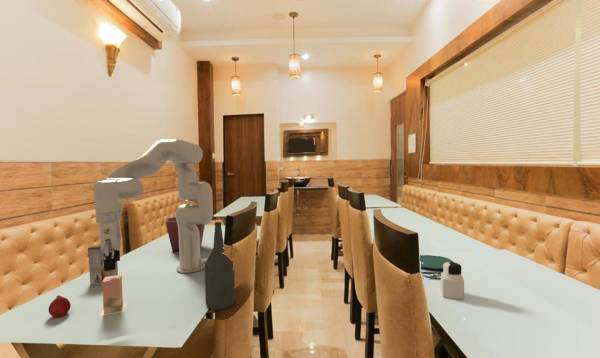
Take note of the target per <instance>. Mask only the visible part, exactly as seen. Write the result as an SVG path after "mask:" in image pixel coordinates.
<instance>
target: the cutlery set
mask: <svg viewBox="0 0 600 358" xmlns="http://www.w3.org/2000/svg"><path fill="white" fill-rule="evenodd" d="M419 255H420V261H421V268H420V269H422V268H423V269H427V270H434V271H429V272H430V273H429V274H433V275H434V276H433V277H430V279H429V280H433V279H435V280H441V273H443V272H442V271H443V264H444V263H446V262H454V261H453V260H452V259H450V258H448V257H446V256H441V255H431V254H430V255H429V254H427V255H426V254H424V255H423V254H419ZM422 262H423V264H422ZM436 271H438V272H436ZM420 273H421V274H422V271H420ZM435 273H439V274H435ZM424 277H427V275H425V276H424ZM422 279H424V278H422ZM424 280H425V279H424Z"/></svg>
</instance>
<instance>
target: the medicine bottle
mask: <svg viewBox="0 0 600 358" xmlns="http://www.w3.org/2000/svg"><path fill="white" fill-rule="evenodd" d="M442 271H443V273H441V274H440V275H441V276H440V278H441V279H440V292H441V295H442V298H443V299H454V300H465V280H464V278H463V276H462V265H461V264H460V263H458V262H454V261H453V262H446V263H444V264H443V270H442Z"/></svg>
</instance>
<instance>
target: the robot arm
mask: <svg viewBox="0 0 600 358" xmlns="http://www.w3.org/2000/svg"><path fill="white" fill-rule="evenodd" d="M203 153H204V152H203V149H202V148H201V147H200V146H199V145H198V144H196V143H193V142H189V141H185V140H183V139H179V138H178V139H160V140H157V141H156V142H154V143H153V144H152V145H151V146H150V147H149V148H148V149H147V150H146V151H145V152H144V153H142V155H141V156H140V157H138V158H136V159H134V160H131V161H130V162H128V163H125V164H124V165H122V166H119V167H118V168H116V169H115V170H114V171H112V172H110V174H109V175H107V176H106V177H105V179H104V180H99V181H95V182H94V184H93V199H94V210H95V211H94V213H95V221H96V222H95V223H97V224H99V233H100V235H99V236H100V244H101V248H102V251H103V252H104V259H103V260H104V271H110V270H115V269H116V265H115V261H117V262H119V261H121V251H120V248H121V247H122V246H123V238H122V237H123V236H122V228H121V223H120V221H122V220H123V216H122V214H123V213H122V202H121V201H122V200H134V199H136V198H138V197H140V196H141V195H142V193H143V192H144V191H143V190H144V185H143V184H142V182H141V181H140V180H139V179H143V178H148V177H151V176H153V175H156V174H157V173H158V172H159V170H160V169H162V167H163V166H165V164H166V163H167V162H168V161H169V162H170V163H171V165H172V166H173V167H174V168H175V170H176V172H177V188H178V191H177V192H178V194H177V195H178V198H179V200H180V201H183V202H195V203H185V204H180V205H179V206H178V207H177V208H176V210H175V214H174V215H175V216H174V217H176V221H177V225H178V232H179V253H178V254H179V265H178V266H177V267H176V272H178V273H182V274H189V273H196V272H200V271H201V270H203V269H204V264H205V262H206V260H207V259H208V258H204V259H203V258H202V257H201V248H200V234H199V229H198V227H197V226H196V224H203V225H204V224H205V225H209V224H210V223H211V222H212V220H213V216H214V204H213V201H214V199H213V196H214V195H213V189H212V186H211V184H210V183H209V182H206V181H198V178H197V170H196V168H195V166H194V164H198V163H200V162H201V160H202V159H203ZM196 202H197V203H196Z"/></svg>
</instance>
